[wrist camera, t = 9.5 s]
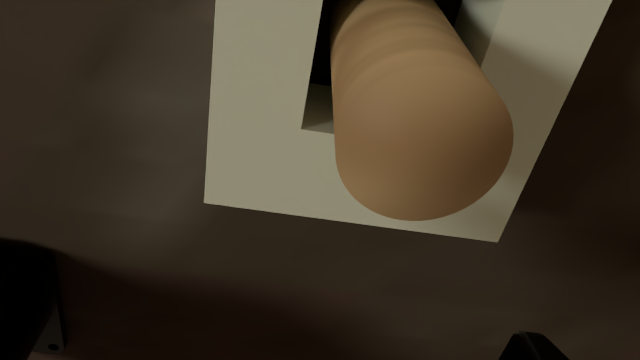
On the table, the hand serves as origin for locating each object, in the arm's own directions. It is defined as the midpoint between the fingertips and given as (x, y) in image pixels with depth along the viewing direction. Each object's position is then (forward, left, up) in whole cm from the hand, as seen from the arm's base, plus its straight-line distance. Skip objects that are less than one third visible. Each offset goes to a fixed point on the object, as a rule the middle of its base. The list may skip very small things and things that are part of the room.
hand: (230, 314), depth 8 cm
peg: (+1, -3, -12) cm, 12 cm away
